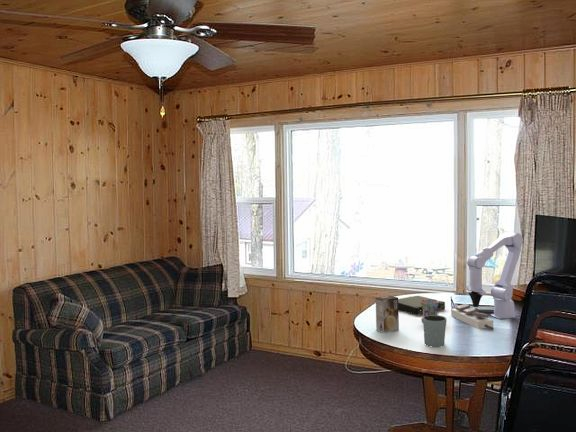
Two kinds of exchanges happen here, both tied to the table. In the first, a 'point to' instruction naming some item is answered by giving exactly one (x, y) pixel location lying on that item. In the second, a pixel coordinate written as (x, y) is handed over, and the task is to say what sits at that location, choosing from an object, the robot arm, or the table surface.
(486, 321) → the power strip
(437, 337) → the grey tapered cup
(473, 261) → the robot arm
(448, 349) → the table surface
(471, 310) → the rocker
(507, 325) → the table surface
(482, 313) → the rocker
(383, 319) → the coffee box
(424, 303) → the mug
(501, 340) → the table surface
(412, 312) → the network switch
